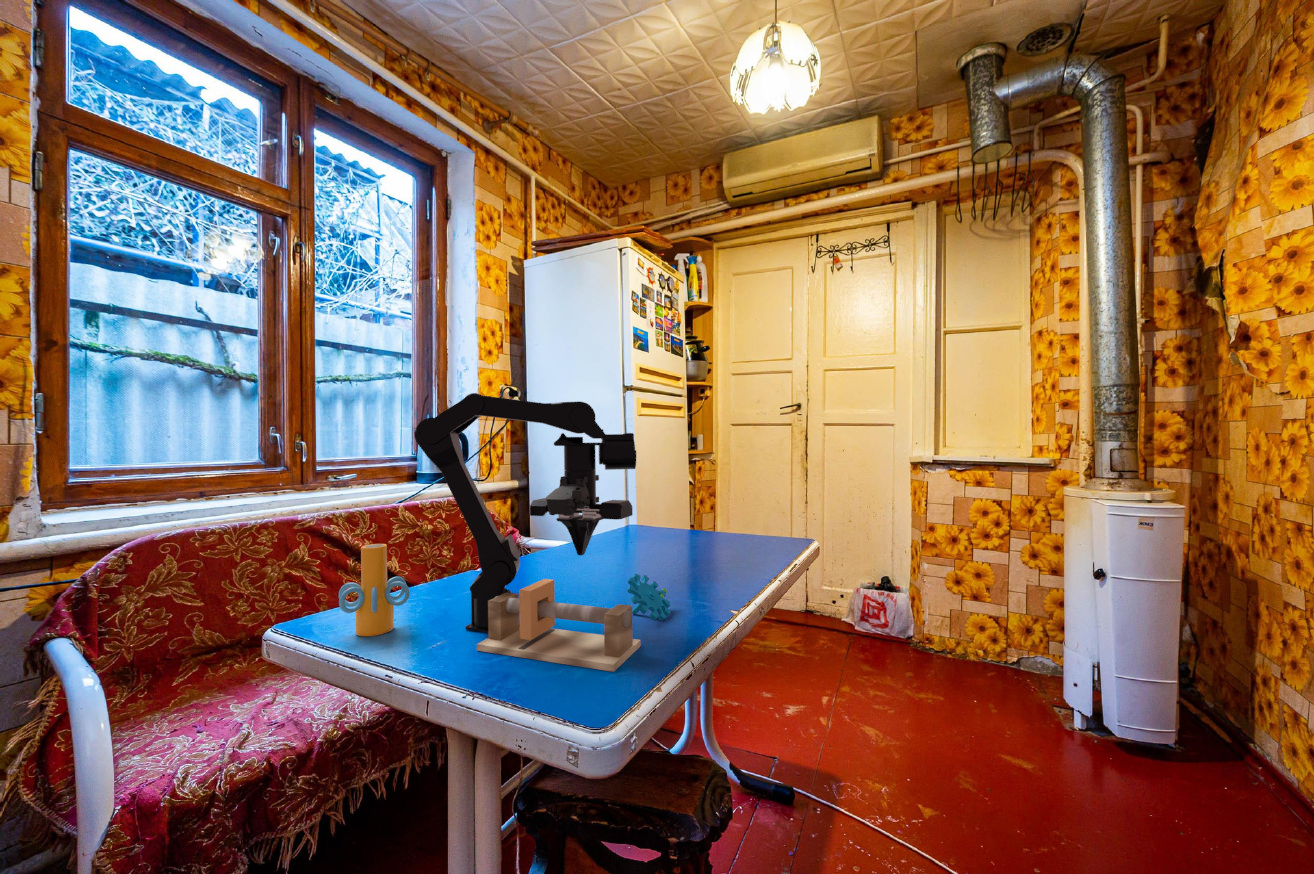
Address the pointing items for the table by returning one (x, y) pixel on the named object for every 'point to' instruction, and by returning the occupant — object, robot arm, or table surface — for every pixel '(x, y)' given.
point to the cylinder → (373, 593)
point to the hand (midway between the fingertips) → (581, 555)
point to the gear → (648, 598)
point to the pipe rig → (562, 634)
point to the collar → (535, 609)
